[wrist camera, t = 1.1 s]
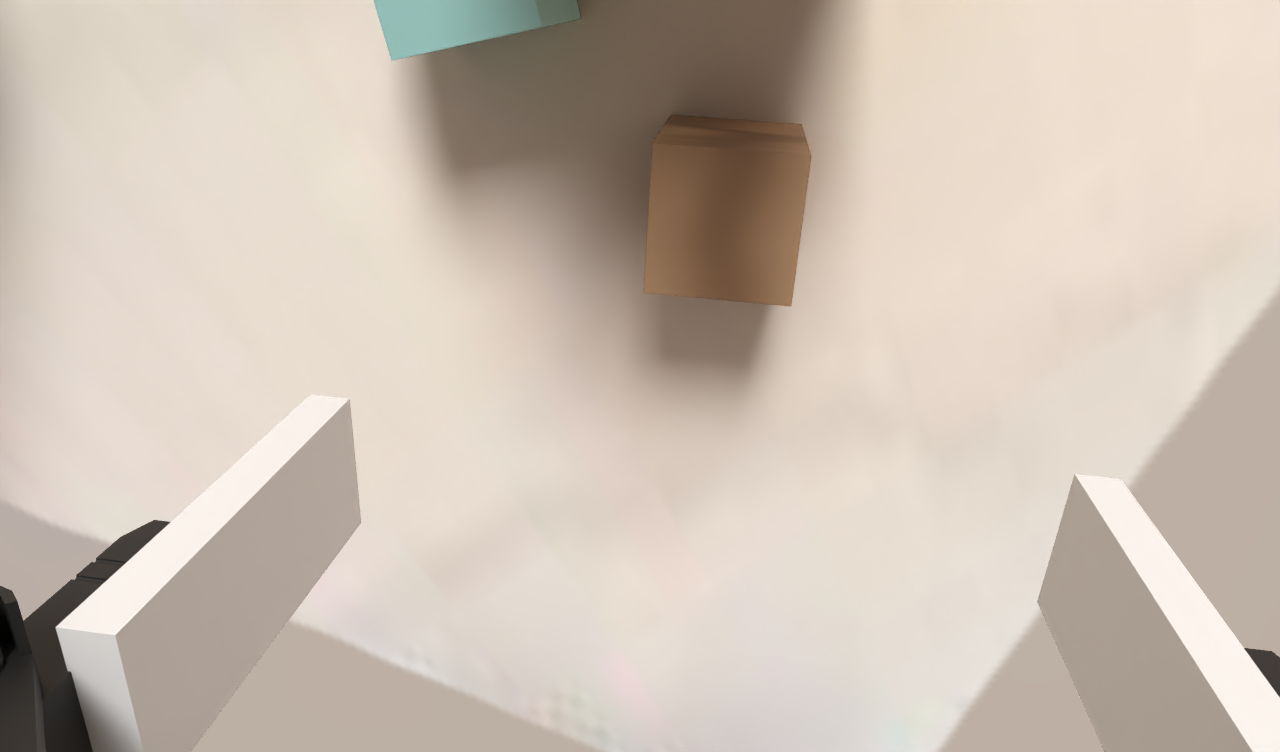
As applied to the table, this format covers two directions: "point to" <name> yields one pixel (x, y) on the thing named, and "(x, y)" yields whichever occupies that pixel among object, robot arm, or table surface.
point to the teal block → (463, 21)
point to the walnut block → (726, 209)
